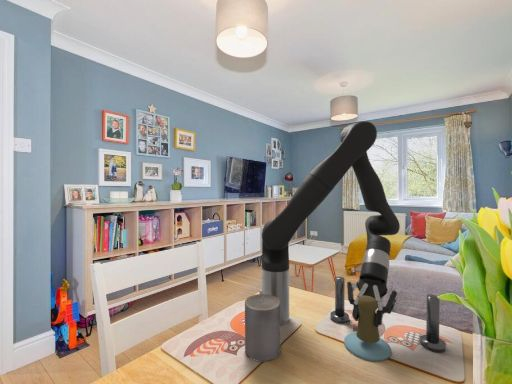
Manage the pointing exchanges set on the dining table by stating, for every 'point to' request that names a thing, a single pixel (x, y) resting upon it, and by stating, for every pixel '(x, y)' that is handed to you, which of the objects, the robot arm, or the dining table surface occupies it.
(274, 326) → the pillar candle
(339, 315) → the gap posts
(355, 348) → the teal mat
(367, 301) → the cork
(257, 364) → the dining table surface
